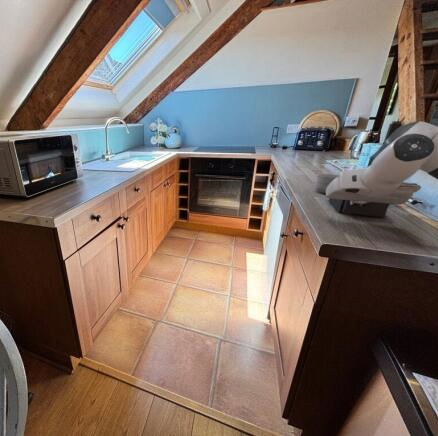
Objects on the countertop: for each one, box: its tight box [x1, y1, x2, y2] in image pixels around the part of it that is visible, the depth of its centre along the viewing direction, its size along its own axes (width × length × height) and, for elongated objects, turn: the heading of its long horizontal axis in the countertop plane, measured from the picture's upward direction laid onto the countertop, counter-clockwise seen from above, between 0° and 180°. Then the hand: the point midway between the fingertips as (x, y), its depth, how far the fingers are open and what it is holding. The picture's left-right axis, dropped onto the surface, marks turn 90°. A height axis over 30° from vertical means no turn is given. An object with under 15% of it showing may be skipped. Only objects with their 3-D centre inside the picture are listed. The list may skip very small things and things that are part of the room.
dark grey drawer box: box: [328, 178, 383, 218], centre depth 89 cm, size 15×13×10 cm
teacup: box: [314, 173, 340, 194], centre depth 108 cm, size 14×11×8 cm
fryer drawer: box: [342, 200, 390, 218], centre depth 87 cm, size 15×11×8 cm
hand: (355, 203), depth 82 cm, fingers closed, pressing on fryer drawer
